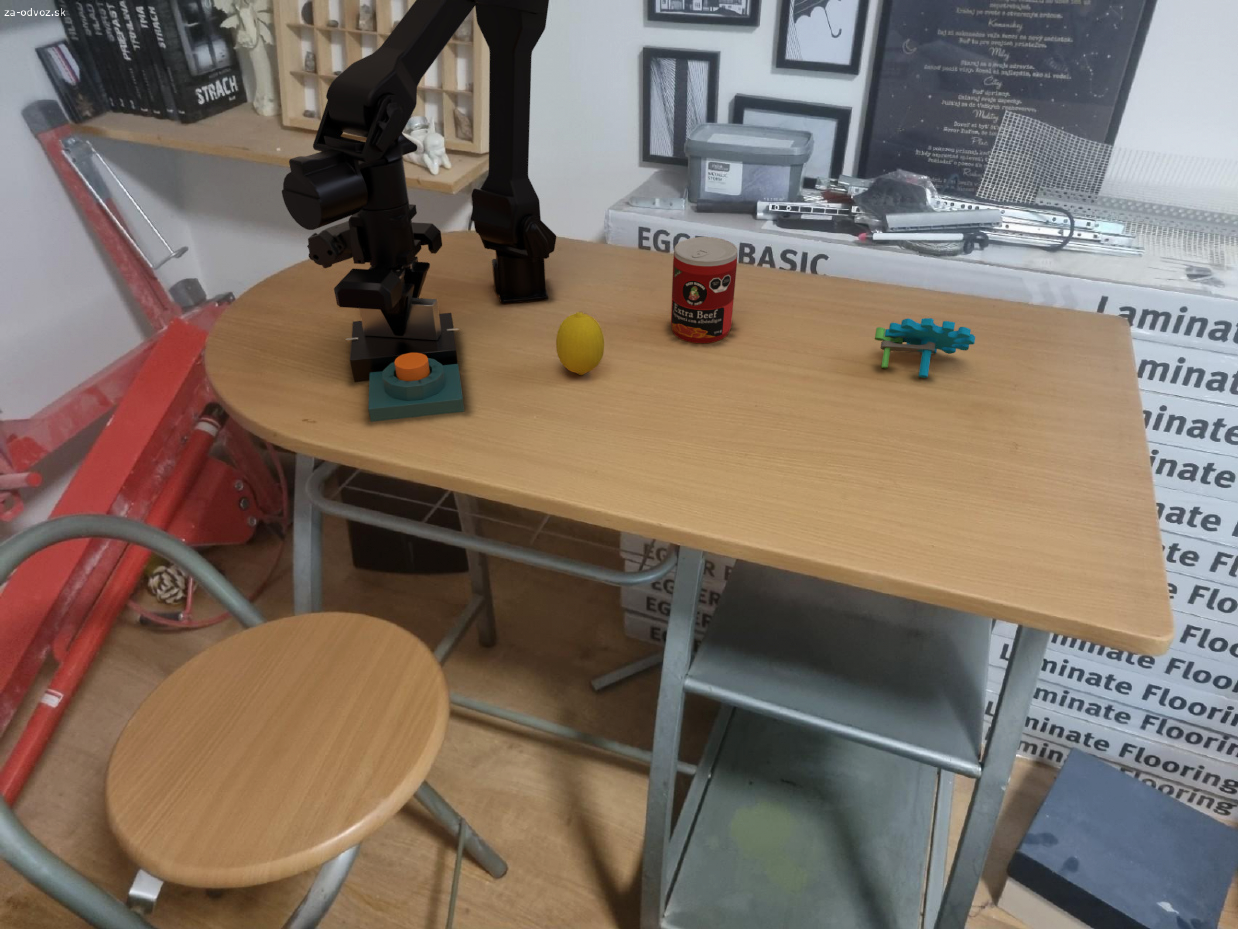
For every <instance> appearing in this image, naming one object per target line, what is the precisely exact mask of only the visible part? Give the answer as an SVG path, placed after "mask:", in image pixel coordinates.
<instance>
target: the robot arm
mask: <svg viewBox="0 0 1238 929" xmlns="http://www.w3.org/2000/svg"><path fill="white" fill-rule="evenodd" d="M549 4H550V0H415V1H414V2H413V4H412V5H411V6H410V8H409V9H408V10H407V11H406V13H405V14H404V15H403V17H402V18H401V20H400V21H399V22H398V23H397V24H396V26H395V27H394V28H393V30H392V31H391V32H390V34H389V35H388V37H386V39H385V40H384V42H383V43H382V44H381V45H380V47H378V48H377V49H376V50H375V51H374V52H372V53H371V54H369V55H366V56H365V57H362V58H361V59H359V60H358V59H357V60H356V61H354V62H353V63H351V64H350V65H349V66H348V67H347V68H345V69H344V70H343V71H342V72H341V73H340V74H339V75H337V77H335V78H333V80H332V81H331V83H330V84H329V87H328V89H327V91H326V95H325V98H326V100H327V101H326V104H325V107H324V109H323V113H322V116H321V119H320V123H319V125H318V128H317V131H316V135H315V137H314V140H313V144H312V149H313V150H314V151H317V152H316V153H312V154H308V155H302V156H301V155H299V156H296V157H292V158H290V159H289V161H288V165H289V169H290V171H289V172H288V173H287V174H286V175H285V177H284V179H283V183H282V190H281V195H282V200H283V203H284V205H285V207H286V210H287V211H288V213H289V215H290V216H291V218H292V219H293V220H294V221H295V223H297V225H299V226H300V227H301V228H303V229H305V230H307V231H315V230H317V229H320V228H323V227H325V226H328V225H331V224H332V223H335V222H338V221H341V220H343V219H345V218H346V219H347V218H348V217H349V218H348V220H347V221H344V222H340V223H338V224H335V225H333V226H329V227H327V228H325V229H323V230H321V231H320V232H319V233H317V232H314V233H313V234H311V235H310V236H309V237H307V243H308V244H307V245H306V248H307V249H308V259H309V260H311V261H313V262H314V263H315V264H316V265H318V266H322V269H328V268H331V267H332V266H333V265H335V264H338V263H341V262H344V261H347V260H350V259H352V260H353V264H355V265H356V264H357V265H365V264H367V263H368V264H369V266H370V267H369V268H351V270H350V271H348V272H347V274H346V275H345V276H344V277H343V278H341V280H340V281H339V282H337V284H336V286H335V287H334V288H333V291H334V296H335V302H336V305H337V306H338V307H339V308H346V309H359V308H361V309H377V310H381V312H382V314H383V315H384V317H385V319H386V321H387V323H388V324H389V326H390V328H391V330H392V332H393V333H394V335H395V336H403V335H404V333H405V329H406V324H407V320H408V315H409V310H410V305H411V300H412V298H420V296H421V293H422V289H423V286H424V284H425V281H426V277H427V274H428V271H429V269H430V267H431V263H430V262H427V261H419V257H418V256H417V255H418V254H419V252H420V251H421V250H422V246H427V248H428V251H429V253H430V254H435V255H436V254H437V253H438V252H439V251H440V250H441V248H442V247H443V240H442V232H441V230H440V229H439V228H438V227H437V226H436V225H435V224H434V223H432V222H431V223H430V222H413V220H412V219H413V218H414V217H415V216H416V215H417V214H418V211H417V205H416V204H413V203H412V204H410V199H409V192H408V185H407V184H408V183H407V177H406V170H405V164H404V156H405V155H408V154H412V153H415V152H417V150H418V145H417V143H415V142H414V141H412V140H410V139H409V138H408V137H406V135H404V131H405V128H406V127H407V125H408V123H409V121H410V119H411V117H412V115H413V114H414V111H415V109H416V107H417V102H418V101H417V100H418V87H419V84H420V83H421V81H422V79H423V77H424V76H425V75H426V73H427V72H428V70H429V69H430V68H431V66H432V65H433V64H434V62H435V61H436V60H437V58H438V57H439V56H440V54H441V53H442V51H444V49H445V47H446V46H447V45H448V43H449V42H450V41H451V39H452V38H453V37H454V35H455V34H456V33H457V32H458V29H459V28H460V27H461V25H462V24H463V23H464V21H465V20H466V19H467V17H468V16H469V15H470V13H471V12H473V9H474V8H475V18H476V24H477V26H478V28H479V30H480V32H481V34H482V37H483V38H484V41H485V42H486V45H487V47H488V52H489V53H488V54H489V64H488V65H489V66H488V67H489V70H488V71H489V74H488V75H489V77H488V78H489V79H488V81H489V82H488V85H489V86H488V90H489V92H488V173H487V176H486V178H485V179H484V181H483V182H482V185H481V186H480V188H473V189H472V192H471V195H470V196H471V205H472V209H471V216H470V221H471V222H473V227H474V230H475V233H476V234H478V235H479V237H480V240H481V243H482V245H483V247H484V249H486V250H491V251H494V252H495V258H492V260H491V266H492V278H493V279H492V280H493V289H494V292H495V294H496V295H498V297H499V299H500V300H499V301H500V303H501V304H513V303H514V304H515V303H523V302H534V301H545V300H548V299H549V293H548V290H547V287H546V286H547V285H546V267H545V260H546V259H549V258H550V255H551V254H553V253H554V252H555V249H556V243H557V234H556V233H554V232H553V230H552V229H550V228H549V226H547V225H546V224H545V223H544V222H543V221H542V217H541V206H540V203H541V202H540V198H539V196H538V195H537V194H538V193H537V192H536V190H535V188H534V186H533V184H532V181H531V179H530V178H529V160H530V159H529V157H530V156H529V155H530V151H529V150H530V126H531V125H530V120H531V91H532V90H531V87H532V86H531V85H532V82H531V81H532V56H533V52H534V49H535V47H536V46H537V44H538V42H539V40H540V39H541V37H542V35H543V33H544V32H545V30H546V28H547V26H546V25H547V19H548V12H549V6H550V5H549ZM343 134H348V135H352V136H355V137H361V138H365V141H364V140H359V139H355V138H350V137H345V136H342V135H343Z"/></svg>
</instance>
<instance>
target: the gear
mask: <svg viewBox="0 0 1238 929" xmlns="http://www.w3.org/2000/svg"><path fill="white" fill-rule="evenodd" d="M934 321H935V319H934V318H932V317H925V318H921V321H920V323H919V322H917V321H915V320H913V319H912V318H904V319H902V320H901V323H898V322H890V323H889V327H888V328H884V327H880V326H879V327H876V328H875V335H874V340H875V341H877V342H880V347H879V348H880V349H881V350H882V351H883V352H882V360H881V366H880V367H881V368H882V369H888V368H889V361H890V355H891V352H900V353H901V352H902V353H913V354H915V353H916V354H921V356H920V363H919V368H918V369H919V370H918V377H919V378H922V379H927V378H928V377H929V370H930V364H931V359H932V358H931V357H932V355H935V354H937V352H938V350H939V351H941V352H944V353H945V354H948V355H950V354H955V353H956V352H957V350H960V351H963V352H965V351H966V352H967V351H968V350H969V349H970V346H972V345H975V343H976V335H975V334H973V333H971V330H972V329H971V328H968V327H966V326H960V327H958V329H957V330H955V326H956V322H954V321H950V320H943V321H942V326H940V325H937V324H936V323H935V322H934Z"/></svg>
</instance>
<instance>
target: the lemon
mask: <svg viewBox="0 0 1238 929" xmlns="http://www.w3.org/2000/svg"><path fill="white" fill-rule="evenodd" d="M604 337H605V336H604V333H603V330H602V327H601V325H600V323H599V322H598V321H597V320H596V318H594V317H593V316H591V315H589V314H587V313H584V312H582V311H577V312H576V313H573V314H570V315H568V316H567V317H566V318H564V320H562V322H561V323H560V324H559V327H558V329H557V333H556V337H555V338H556V339H555V346H556V347H555V348H556V353H557V357H558V359H559V361H560V363H561V365H562V366H563V367H564V368H565V369H567V370H568V371H570V372H571V373H576V374H577V375H579V376H583V375H584V374H586V373H589V372H591V371H593V370H594V369H596V367H598V366H599V364H600V362H601V361H602V359H603V356H604V354H605V353H604V352H605V338H604Z"/></svg>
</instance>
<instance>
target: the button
mask: <svg viewBox="0 0 1238 929" xmlns="http://www.w3.org/2000/svg"><path fill="white" fill-rule="evenodd" d="M394 363H395V369H396V375H397V378H398V379H399V380H403V381H415V380H420V379H423V378H426V377H428V376H429V374H430V370H429V363H428V358H427V356H426V355H424V354H421V353H407V354H403V355H401V356H399V357H397V358H396V359H395V362H394Z"/></svg>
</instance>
